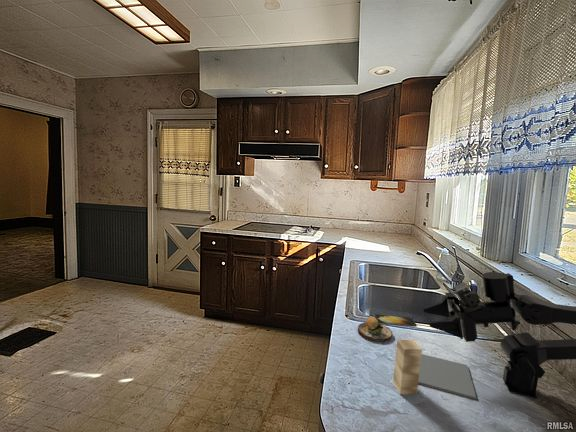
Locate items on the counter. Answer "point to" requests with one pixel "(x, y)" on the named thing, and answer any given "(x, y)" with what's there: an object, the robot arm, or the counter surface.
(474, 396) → the mat
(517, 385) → the robot arm
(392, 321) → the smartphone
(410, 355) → the block
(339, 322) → the counter surface
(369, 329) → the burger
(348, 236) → the counter surface
